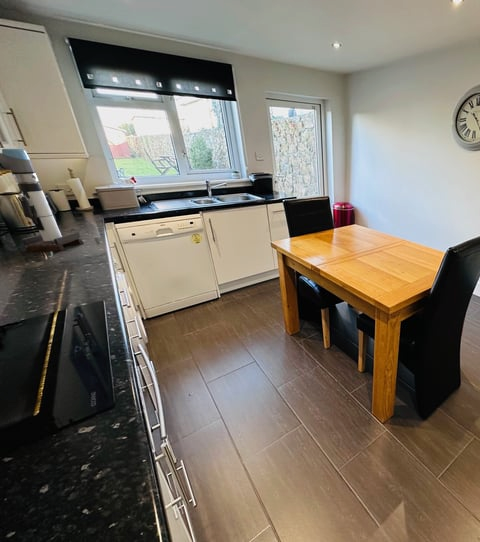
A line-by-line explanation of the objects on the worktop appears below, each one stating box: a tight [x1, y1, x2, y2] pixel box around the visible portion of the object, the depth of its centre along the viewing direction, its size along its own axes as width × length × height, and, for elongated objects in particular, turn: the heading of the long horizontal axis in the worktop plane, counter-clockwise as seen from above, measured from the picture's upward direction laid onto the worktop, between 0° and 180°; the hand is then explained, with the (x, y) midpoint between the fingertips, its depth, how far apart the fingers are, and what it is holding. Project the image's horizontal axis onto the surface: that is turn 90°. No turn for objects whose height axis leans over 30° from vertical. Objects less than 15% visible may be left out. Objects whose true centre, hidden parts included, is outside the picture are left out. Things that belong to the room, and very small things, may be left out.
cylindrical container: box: [21, 189, 63, 241], centre depth 145 cm, size 7×7×25 cm
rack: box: [21, 231, 84, 253], centre depth 151 cm, size 16×14×7 cm
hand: (48, 227), depth 147 cm, fingers closed on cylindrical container, 7 cm apart
